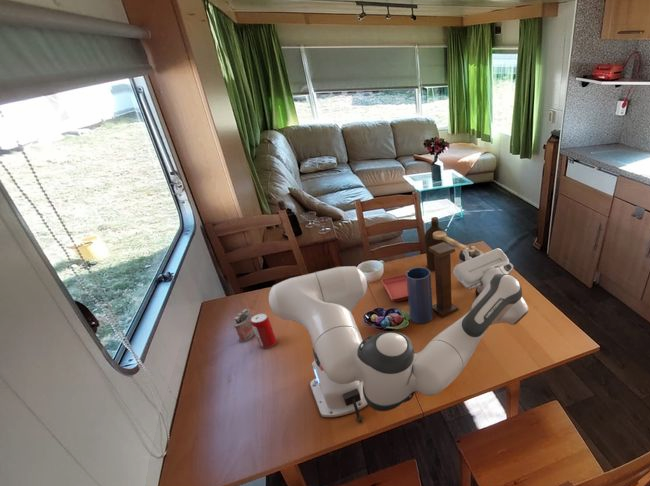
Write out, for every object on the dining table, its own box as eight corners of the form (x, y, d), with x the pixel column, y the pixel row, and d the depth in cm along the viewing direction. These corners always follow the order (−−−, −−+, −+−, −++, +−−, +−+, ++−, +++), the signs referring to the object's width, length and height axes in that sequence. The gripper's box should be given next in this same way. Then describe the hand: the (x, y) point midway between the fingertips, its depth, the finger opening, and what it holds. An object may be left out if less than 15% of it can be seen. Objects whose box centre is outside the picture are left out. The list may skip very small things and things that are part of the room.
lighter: (245, 342, 138) (236, 320, 133) (237, 341, 139) (228, 319, 133) (260, 329, 145) (252, 307, 139) (252, 327, 145) (244, 306, 140)
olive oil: (446, 272, 181) (444, 223, 168) (424, 271, 182) (421, 222, 168) (449, 261, 190) (447, 214, 177) (428, 260, 191) (425, 213, 177)
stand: (458, 309, 155) (457, 248, 140) (442, 317, 151) (439, 254, 136) (445, 301, 160) (443, 241, 145) (430, 308, 156) (426, 247, 141)
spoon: (478, 252, 129) (478, 248, 128) (467, 256, 126) (467, 253, 125) (440, 232, 142) (440, 229, 141) (430, 236, 139) (429, 233, 139)
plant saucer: (381, 285, 171) (380, 278, 169) (419, 276, 178) (419, 270, 176) (392, 306, 157) (391, 299, 156) (433, 295, 164) (432, 289, 162)
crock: (435, 320, 149) (433, 276, 138) (413, 325, 146) (409, 281, 136) (429, 308, 156) (426, 265, 145) (407, 312, 153) (403, 269, 143)
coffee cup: (480, 280, 175) (481, 251, 167) (471, 288, 169) (471, 258, 161) (465, 275, 178) (465, 246, 170) (455, 283, 172) (455, 253, 164)
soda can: (280, 340, 139) (270, 313, 133) (269, 350, 135) (259, 323, 128) (267, 337, 140) (257, 311, 134) (256, 347, 136) (246, 320, 129)
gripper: (464, 296, 121) (441, 263, 125) (509, 275, 132) (486, 245, 136) (471, 285, 116) (446, 252, 120) (517, 264, 128) (492, 234, 132)
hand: (468, 248), depth 128 cm, fingers closed on spoon
